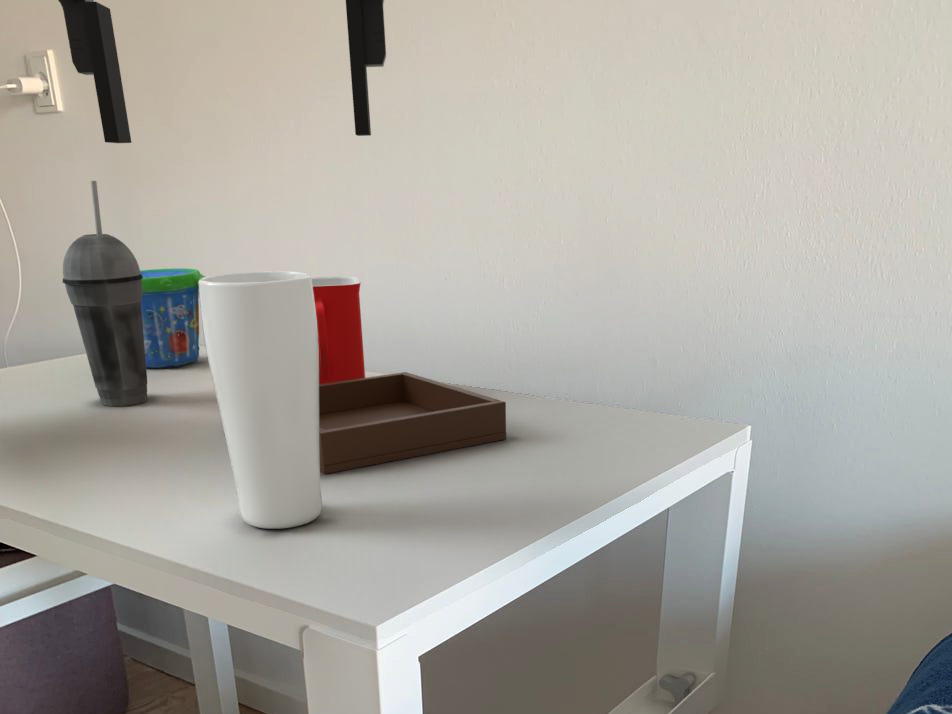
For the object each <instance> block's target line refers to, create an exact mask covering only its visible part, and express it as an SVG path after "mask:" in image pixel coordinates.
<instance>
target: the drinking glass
mask: <svg viewBox="0 0 952 714" xmlns="http://www.w3.org/2000/svg"><path fill="white" fill-rule="evenodd" d="M311 277H312V276H311V274H309V273H306V272H299V271H284V270H283V271H276V270H272V271H271V270H270V271H245V272H244V271H243V272H232V273H231V272H230V273H223V274H215V275H209V276H206V277H204V278H201V279H200V280H199V281H198V285H199V306H200V307H199V309H200V317H201V324H202V325H201V326H202V332H203V340H204V345H205V350H206V356H207V363H208V366H209V370H210V375H211V380H212V383H213V388H214V393H215V398H216V401H217V406H218V407H217V408H218V411H219V416H220V419H221V424H222V425H221V426H222V429H223V433H224V438H225V443H226V448H227V451H228V452H227V453H228V456H229V457H228V458H229V461H230V465H231V471H232V475H233V479H234V484H235V489H236V497H237V505H238V512H239V515H240V518H241V519H242V520H243V522H245V523H247V525H249V526H251V527H255V528H259V529H268V530H277V529H278V530H281V529H290V528H297V527H300V526H303V525H306V524H309V523H312V522H313V521H315V520H316V519H317V518H319V516H320V515H321V513H322V509H323V497H322V488H321V487H322V485H321V472H320V435H319V343H318V328H317V317H316V308H315V300H314V293H313V286H312V278H311Z"/></svg>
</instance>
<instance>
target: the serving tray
mask: <svg viewBox="0 0 952 714" xmlns="http://www.w3.org/2000/svg"><path fill="white" fill-rule="evenodd" d="M319 435H320V474H323V475H326V474H327V475H328V474H334V473H338V472H343V471H349V470H353V469H359V468H363V467H368V466H374V465H380V464H385V463H390V462H395V461H400V460H405V459H410V458H416V457H420V456H425V455H431V454H437V453H442V452H447V451H452V450H456V449H463V448H467V447H473V446H477V445H478V446H479V445H484V444H489V443H493V442H498V441H504V440H507V403H506V401H503V400H500V399H497V398H494V397H491V396H487V395H484V394H481V393H477V392H475V391H471V390H468V389H464V388H460V387H457V386H455V385H454V386H453V385H451V384H448V383H444V382H440V381H437V380H434V379H432V378H431V379H430V378H428V377H424V376H421V375H420V376H419V375H417V374H415V373H411V372H407V371H403V372H396V373H389V374H381V375H375V376H367V377H365V378H360V379H354V380H347V381H340V382H333V383H326V384H319Z"/></svg>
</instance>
